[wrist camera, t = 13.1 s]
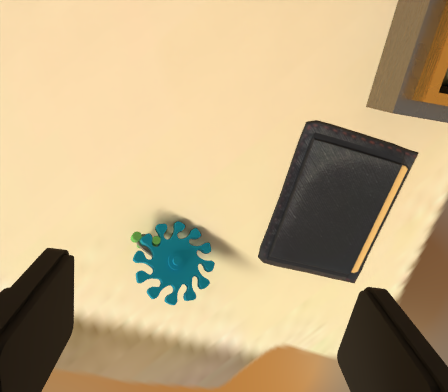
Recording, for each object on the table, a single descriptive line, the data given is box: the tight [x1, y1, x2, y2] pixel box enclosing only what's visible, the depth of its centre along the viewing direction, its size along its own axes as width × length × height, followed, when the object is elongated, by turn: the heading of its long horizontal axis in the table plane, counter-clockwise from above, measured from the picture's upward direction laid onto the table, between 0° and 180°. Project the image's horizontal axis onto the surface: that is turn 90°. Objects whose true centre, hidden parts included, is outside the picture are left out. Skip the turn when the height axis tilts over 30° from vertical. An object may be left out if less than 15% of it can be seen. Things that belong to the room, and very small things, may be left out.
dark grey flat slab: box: [258, 121, 418, 283], centre depth 43 cm, size 20×2×15 cm
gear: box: [131, 221, 215, 305], centre depth 42 cm, size 11×6×10 cm
